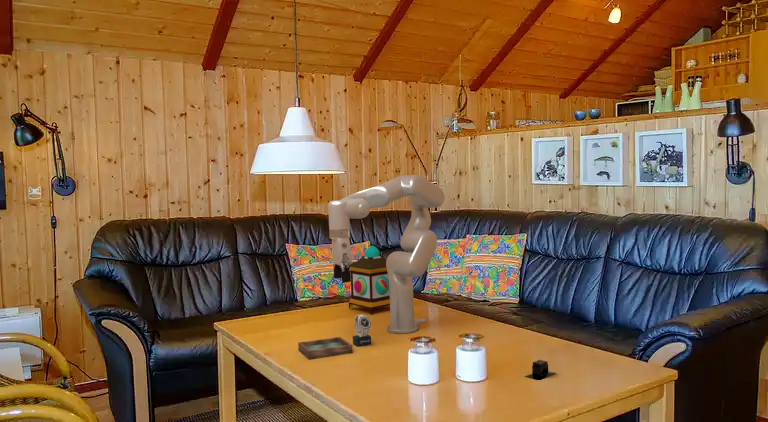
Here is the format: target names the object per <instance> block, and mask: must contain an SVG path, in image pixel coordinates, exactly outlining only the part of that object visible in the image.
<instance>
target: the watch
mask: <svg viewBox="0 0 768 422" xmlns="http://www.w3.org/2000/svg"><path fill="white" fill-rule="evenodd" d="M354 317H355V318H354V329H355V332H356V335H352V346H355V347H357V348H359V347H361V348H362V347H365V346H371V345H372V336H371V335H370V334H369V332H370V330H371V326H372V320H371V319H370V317H368V316H367V315H365V314H356V315H355V316H354Z"/></svg>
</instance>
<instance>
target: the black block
mask: <svg viewBox="0 0 768 422" xmlns="http://www.w3.org/2000/svg"><path fill="white" fill-rule="evenodd" d="M531 369H532V372H531V373H530V374H526V375H525V376H523V377H525V378H527V379H531V380H534V381H538V380H540V381H542V379H543V380H545V379H547V378H550V377H551V376H552V377H553V376H554V375H557V374H558V373H557V372H553V371H549V363H548V361H547V360H543V359H538V360H536V361H533V362H532V365H531Z"/></svg>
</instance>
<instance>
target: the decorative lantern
mask: <svg viewBox="0 0 768 422" xmlns="http://www.w3.org/2000/svg"><path fill="white" fill-rule="evenodd" d="M383 256H384V255H381V254H380V249H378V248H377V247H376V246H374V245H371V246H369V247H367V249H366V250H365V252H364V255H362V256H361V257H360V258H359V259H357V261H352V264H351V265H350V278H351V281H350V299H349V301H348V309H349V310H353V306H357V307H360V308H364V309H365V308H366V309H368V310H369V315H370V316H373V313H374V310H375V309H378V308H382V307H388V306H390V290H389V277H388V272H387V268H386V260H387V258H385V257H383Z"/></svg>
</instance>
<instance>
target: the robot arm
mask: <svg viewBox="0 0 768 422" xmlns="http://www.w3.org/2000/svg"><path fill="white" fill-rule="evenodd" d="M405 197H408V198H407V199H408V203H409V206H410V210H411V216H410V219H409V222H408V223H407V226H406V227H405V229H404V231H403V234H402V236H401V237H400V247H401V249H403V250H404V251H401V250H400V251H393V252H391V253H390V254H389V255H388V256H387V257H386V259H387V260H386V268H387V272H388V277H389V290H390V305H389V317H390V318H389V319H390V323H389V325H387V327H386V331H387V332H389V333H392V334H410V333H414V332H416V331H418V330H419V326H418V325H419V324H425V323H426V319H425V318H424V317H423V318H422V317H421V318H419V317H417V318H416V317H415V313H414V312H415V308H414V307H415V305H414V284H413V281H412V278H419V277H422V276H423V275H424V274H425V272H426V271H427V270H428V268H429V265H430V262H431V261H432V258H433V257H434V254H435V252H436V249H437V247H438V238H437V234H435V232H434V231H433V230H430V227H431V223H432V218H431V214H430V213H431V212H430V210H429V208H430V209H431V208H432V209H436V208H439V207H441V206H442V205H443V204H444V202H445V199H446V196H445V193H444V191H443V189H442V188H441V187H439V185H437V184H435V183H433V182H432V181H430V180H428V179H426V178H425V177H424V176H420V175H418V174H411V175H410V174H408V175H407V174H405V175H399V176H396V177H394V178H392V179H390V180H387V181H386V182H383V183H381V184H378V185H376V186H372V187H369V188H366V189H364V190H360V191H357V192H354V193H351V194H349V195H346V196H345V197H341V199H339V200H338V199H337V200H336V199H335V200H331V201H329V202H328V204H327V209H328V210H327V211H328V212H327V213H328V227H329V229H328V230H329V232H328V233H329V239H331V257H332V259H331V260H332V263H333V265H332V266H333V269H332V270H333V278H334V279H336V280H337V279H341V283H344V284H345V283H351V273H350V265H351V264H352V262H353V259H352V258H353V257H352V249H351V248H352V247H351V240H350V238H351V229H350V227H351V225H350V219H360V220H361V219H364V218H366V217H367V216H369V213H370V212H371V209H373V208H375V209H376V208H381V207H382V208H383V207H386V206H389V205H391V204H393V203H395V202H398V201H399V200H401V199H404V198H405Z"/></svg>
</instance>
